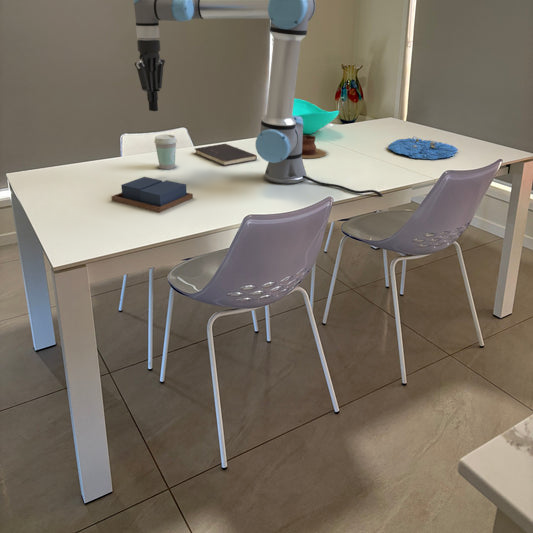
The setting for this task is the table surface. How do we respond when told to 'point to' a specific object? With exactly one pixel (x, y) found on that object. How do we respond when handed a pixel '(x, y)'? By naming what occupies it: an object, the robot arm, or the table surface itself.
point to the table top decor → (312, 116)
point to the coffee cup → (166, 150)
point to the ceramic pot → (310, 148)
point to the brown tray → (150, 207)
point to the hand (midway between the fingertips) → (153, 110)
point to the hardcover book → (225, 154)
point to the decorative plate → (422, 148)
